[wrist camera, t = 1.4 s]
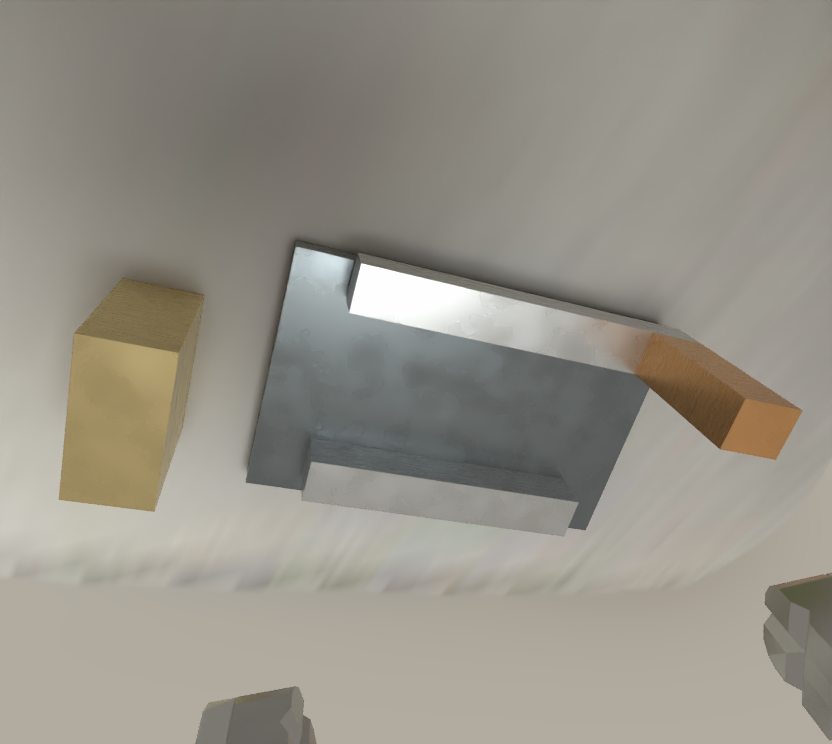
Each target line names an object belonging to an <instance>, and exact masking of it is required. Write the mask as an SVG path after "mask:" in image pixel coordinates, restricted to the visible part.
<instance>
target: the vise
mask: <svg viewBox="0 0 832 744" xmlns="http://www.w3.org/2000/svg"><path fill="white" fill-rule="evenodd" d="M356 257H357V254H354V253H350V252H345V251H341V250H337V249H333V248H329V247H324V246H320V245H316V244H312V243H308V242H303V241H299V240H296V243H295V247H294V252H293V257H292V261H291V266H290V271H289V276H288V280H287V285H286V290H285V294H284V299H283V304H282V309H281V313H280V318H279V323H278V327H277V332H276V337H275V342H274V346H273V351H272V356H271V360H270V365H269V370H268V375H267V379H266V384H265V389H264V393H263V398H262V403H261V408H260V412H259V417H258V422H257V426H256V431H255V436H254V441H253V445H252V450H251V455H250V459H249V464H248V469H247V477H246V482H247V483H254V484H261V485H268V486H275V487H282V488H289V489H296V490H302V501H309V502H316V503H323V504H331V505H338V506H345V507H353V508H360V509H367V510H374V511H382V512H389V513H396V514H404V515H411V516H418V517H426V518H433V519H440V520H448V521H455V522H462V523H470V524H477V525H484V526H492V527H499V528H506V529H513V530H521V531H528V532H535V533H543V534H550V535H557V536H564V535H565V533H566V531H567V529H568V528H574V529H581V530H586V528H587V526H588V523H589V521H590V519H591V517H592V515H593V512H594V510H595V508H596V506H597V503H598V501H599V499H600V497H601V494H602V492H603V490H604V488H605V486H606V483H607V481H608V479H609V477H610V474H611V472H612V470H613V468H614V465H615V463H616V461H617V459H618V457H619V454H620V452H621V450H622V448H623V445H624V443H625V441H626V439H627V436H628V434H629V432H630V430H631V428H632V425H633V423H634V421H635V419H636V416H637V414H638V412H639V410H640V407H641V405H642V403H643V401H644V399H645V396H646V394H647V392H648V390H649V386H648V385H647V384H645V383H644V382H643V381H642V380H641V379H640V378H639V377H637V376H636V375H635V374H632V373H627V372H622V371H618V370H613V369H608V368H604V367H599V366H594V365H590V364H585V363H580V362H576V361H571V360H566V359H562V358H557V357H552V356H548V355H543V354H538V353H534V352H529V351H524V350H520V349H515V348H510V347H506V346H501V345H496V344H492V343H487V342H482V341H478V340H473V339H468V338H464V337H459V336H454V335H450V334H445V333H441V332H436V331H431V330H427V329H422V328H417V327H413V326H408V325H403V324H399V323H394V322H389V321H385V320H380V319H375V318H371V317H366V316H361V315H357V314H352V313H349V310H348V306H347V301H346V297H347V293H348V289H349V285H350V281H351V277H352V273H353V269H354V265H355V261H356Z"/></svg>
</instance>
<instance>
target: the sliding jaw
mask: <svg viewBox="0 0 832 744" xmlns="http://www.w3.org/2000/svg"><path fill="white" fill-rule="evenodd" d="M346 301H347V306H348V310H349V313H352V314H357V315H361V316H366V317H371V318H375V319H380V320H385V321H389V322H394V323H399V324H403V325H408V326H413V327H417V328H422V329H427V330H431V331H436V332H441V333H445V334H450V335H454V336H459V337H464V338H468V339H473V340H478V341H482V342H487V343H492V344H496V345H501V346H506V347H510V348H515V349H520V350H524V351H529V352H534V353H538V354H543V355H548V356H552V357H557V358H562V359H566V360H571V361H576V362H580V363H585V364H590V365H594V366H599V367H604V368H608V369H613V370H618V371H622V372H627V373H632V374H635V375H636V376H637V377H639V378H640V379H641V380H642V381H643V382H644V383H645V384H647V385H648V386H649V387H650V388H651V389H652V390H653V391H654V392H656V393H657V394H658V395H659V396H660V397H661V398H662V399H664V400H665V401H666V402H667V403H668V404H669V405H670V406H672V407H673V408H674V409H675V410H676V411H677V412H678V413H679V414H681V415H682V416H683V417H684V418H685V419H686V420H687V421H689V422H690V423H691V424H692V425H693V426H694V427H695V428H697V429H698V430H699V431H700V432H701V433H702V434H703V435H704V436H706V437H707V438H708V439H709V440H710V441H711V442H712V443H714V444H715V445H716V446H717V447H718V448H719V449H722V450H727V451H733V452H738V453H743V454H749V455H754V456H759V457H764V458H770V459H775V460H776V458H777V456H778V455H779V453H780V451H781V449H782V447H783V445H784V444H785V442H786V440H787V438H788V436H789V435H790V433H791V431H792V429H793V427H794V425H795V424H796V422H797V420H798V418H799V416H800V415H801V413H802V410H801V409H799V408H798V407H796V406H795V405H793V404H792V403H790V402H789V401H787V400H786V399H784V398H782V397H781V396H779V395H778V394H776V393H775V392H773V391H772V390H770V389H769V388H767V387H766V386H764V385H763V384H761V383H760V382H758V381H757V380H755V379H754V378H752V377H751V376H749V375H748V374H746V373H745V372H743V371H742V370H740V369H739V368H737V367H735V366H734V365H732V364H731V363H729V362H728V361H726V360H725V359H723V358H722V357H720V356H719V355H717V354H716V353H714V352H713V351H711V350H710V349H708V348H707V347H705V346H704V345H702V344H701V343H699V342H698V341H696V340H695V339H693V338H691V337H690V336H688V335H687V334H685V333H684V332H682V331H681V330H679V329H676V328H672V327H667V326H663V325H659V324H655V323H651V322H646V321H642V320H638V319H634V318H630V317H626V316H621V315H617V314H613V313H609V312H605V311H601V310H596V309H592V308H588V307H584V306H580V305H575V304H571V303H567V302H563V301H559V300H555V299H550V298H546V297H542V296H538V295H534V294H530V293H525V292H521V291H517V290H513V289H509V288H505V287H500V286H496V285H492V284H488V283H484V282H479V281H475V280H471V279H467V278H463V277H459V276H454V275H450V274H446V273H442V272H438V271H434V270H429V269H425V268H421V267H417V266H413V265H408V264H404V263H400V262H396V261H392V260H388V259H383V258H379V257H375V256H371V255H367V254H363V253H357V257H356V261H355V265H354V269H353V273H352V277H351V281H350V285H349V289H348V293H347V297H346Z"/></svg>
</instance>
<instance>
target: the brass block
mask: <svg viewBox="0 0 832 744" xmlns="http://www.w3.org/2000/svg"><path fill="white" fill-rule="evenodd" d="M203 300H204V295H200V294H196V293H191V292H186V291H181V290H177V289H172V288H167V287H162V286H157V285H153V284H148V283H143V282H138V281H134V280H129V279H124V278H123V279H122V280H121V281H120V282H119V283H118V284H117V286H116V287H115V288H114V289H113V290H112V291H111V292H110V294H109V295H108V296H107V297H106V298H105V299H104V300H103V301H102V303H101V304H100V305H99V306H98V307H97V308H96V309H95V310H94V312H93V313H92V314H91V315H90V316H89V317H88V318H87V320H86V321H85V322H84V323H83V324H82V325H81V326H80V327H79V329H78V330H77V331H76V332H75V333H74V341H73V352H72V362H71V373H70V384H69V395H68V406H67V417H66V428H65V439H64V449H63V460H62V471H61V482H60V493H59V500H65V501H73V502H81V503H89V504H97V505H105V506H113V507H121V508H129V509H137V510H145V511H153V512H154V511H155V508H156V505H157V502H158V499H159V496H160V493H161V490H162V487H163V484H164V481H165V478H166V475H167V472H168V469H169V466H170V463H171V460H172V457H173V454H174V451H175V448H176V445H177V442H178V439H179V436H180V433H181V430H182V427H183V421H184V415H185V409H186V403H187V397H188V391H189V385H190V379H191V373H192V366H193V360H194V354H195V348H196V342H197V336H198V330H199V324H200V318H201V312H202V306H203Z"/></svg>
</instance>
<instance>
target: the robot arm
mask: <svg viewBox="0 0 832 744" xmlns="http://www.w3.org/2000/svg"><path fill="white" fill-rule="evenodd" d="M765 605H766V606H767V607H768V609H769V610H770V611H771V612H772V614H771V615H770V617H769V618H768V619H767V620H766V622H765V623H764V642H765V645H766V649H767V652H768V656H769V658H770V659H771V661H772V663H773V665H774V667H775V669H776V670H777V671H778V673H779V674H780V676H781V677H782V678H783V680H784V681H785V682H787V683H789V684H791V685H792V686H795V687H796V688H798V689H800V690H802V705H803V706H804V708H805V709H806V710H807V712H808V713H809V714H810V715H811V717H812V718H813V720H814V721H815V722H816V724H817V725H818V726H819V728H820V729H821V730H822V731H823V733H824V734H825V735H826V737H827V738H828V739H829V740H832V573H829V574H826V575H819V576H814V577H809V578H805V579H800V580H796V581H791V582H787V583H782V584H778V585H773V586H769V588H768V589H767V591H766V594H765ZM303 706H304V700H303V697H302V695H301V692H300V690H299V687H290V688H284V689H278V690H273V691H268V692H262V693H257V694H251V695H245V696H240V697H237V698H232V699H227V700H221V701H216V702H210V703H208V704H207V706H206V708H205V710H204V711H203V714H202V718H201V722H200V726H199V730H198V735H197V739H196V743H195V744H316V739H315V735H314V729H313V726H312V723H311V720H310V719H308V718H307V717H305V716H304V715H303Z"/></svg>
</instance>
